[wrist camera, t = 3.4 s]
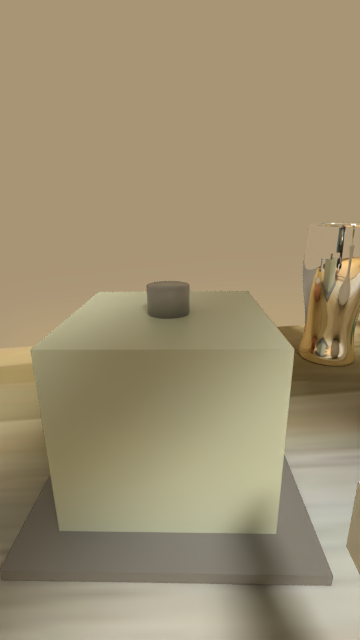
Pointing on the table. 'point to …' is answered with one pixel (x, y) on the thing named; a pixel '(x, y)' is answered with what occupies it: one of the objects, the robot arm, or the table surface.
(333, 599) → the table surface
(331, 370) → the table surface
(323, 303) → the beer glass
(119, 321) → the cover
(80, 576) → the mat
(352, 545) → the robot arm
